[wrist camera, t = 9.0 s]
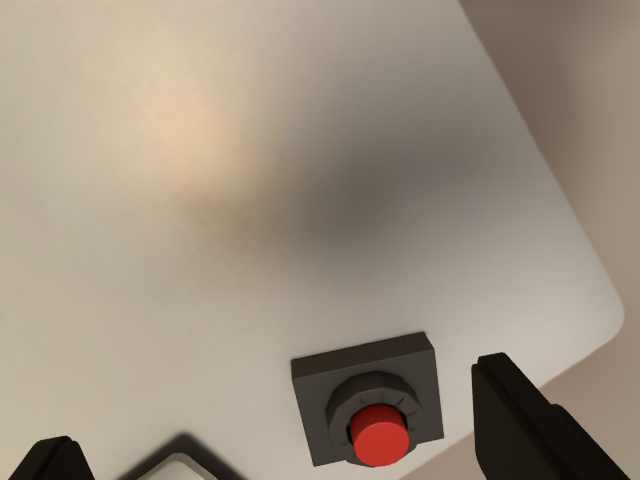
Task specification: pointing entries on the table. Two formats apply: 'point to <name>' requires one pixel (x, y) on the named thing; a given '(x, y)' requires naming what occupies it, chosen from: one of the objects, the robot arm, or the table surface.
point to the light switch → (178, 469)
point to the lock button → (379, 435)
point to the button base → (367, 393)
